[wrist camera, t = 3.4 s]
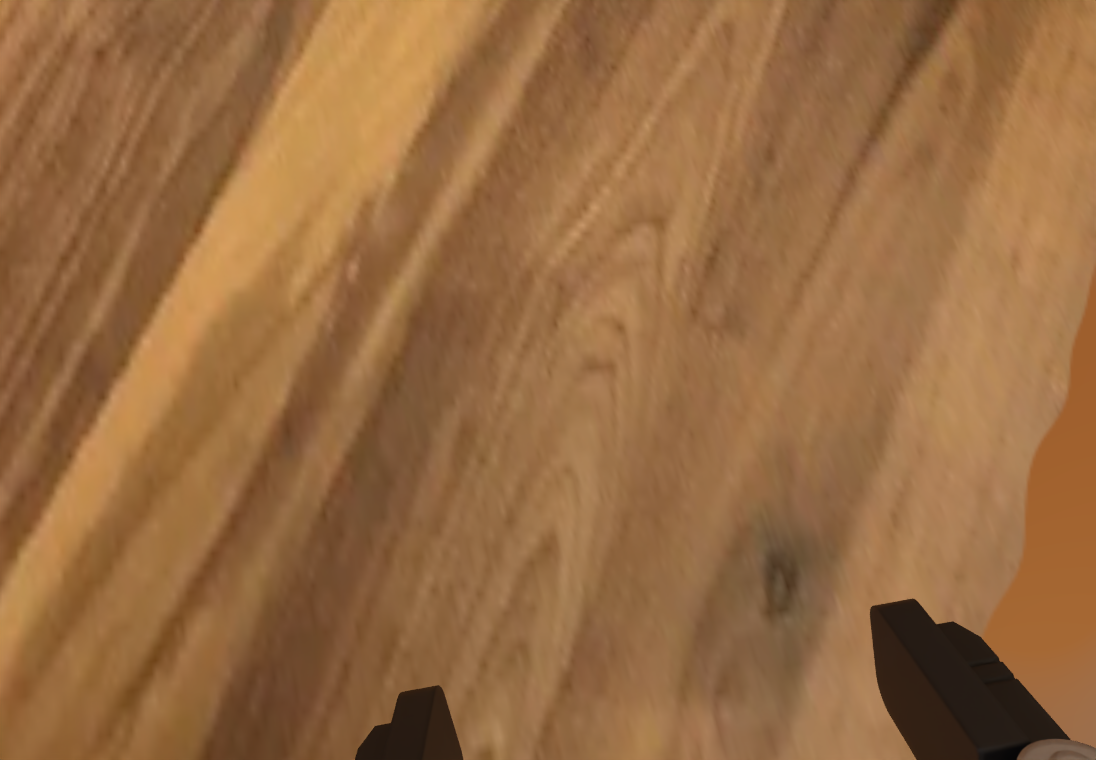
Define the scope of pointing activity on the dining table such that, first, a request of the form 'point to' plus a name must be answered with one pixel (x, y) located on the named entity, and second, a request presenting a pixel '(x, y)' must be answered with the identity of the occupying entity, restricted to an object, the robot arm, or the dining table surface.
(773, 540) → the dining table surface
